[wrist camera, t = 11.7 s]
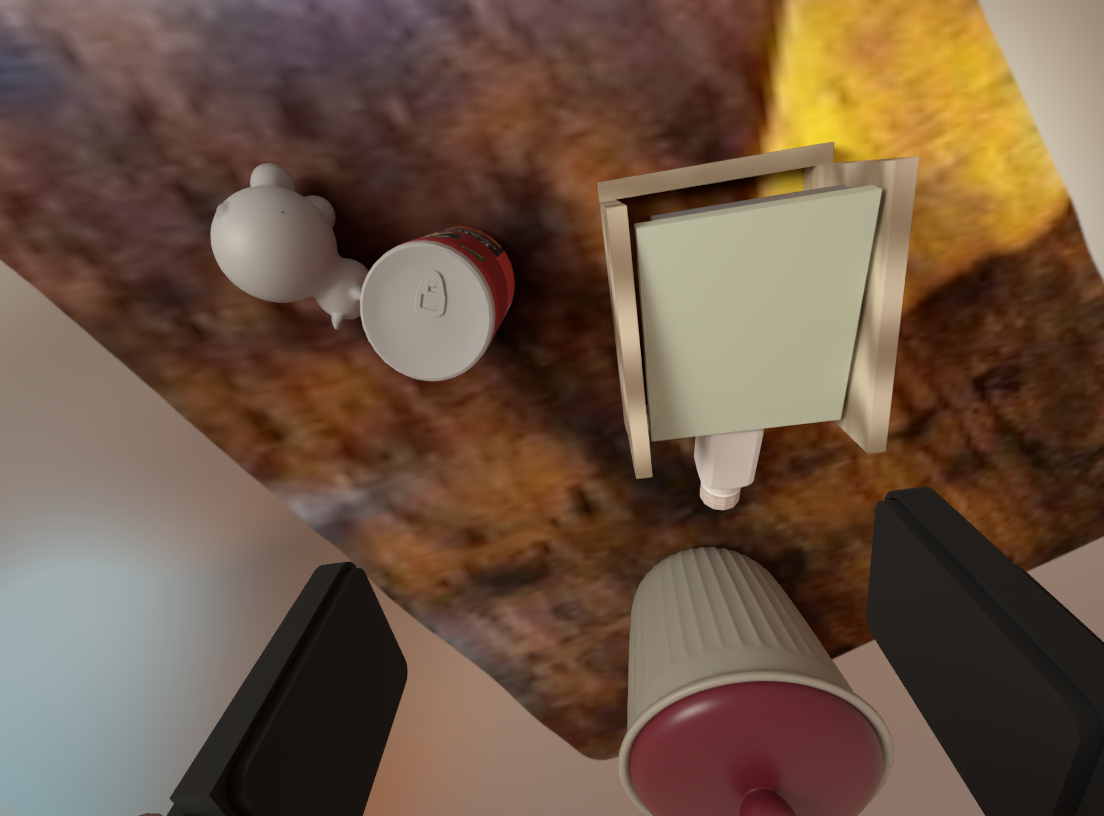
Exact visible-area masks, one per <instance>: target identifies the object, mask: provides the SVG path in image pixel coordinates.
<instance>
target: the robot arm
mask: <svg viewBox="0 0 1104 816" xmlns="http://www.w3.org/2000/svg"><path fill="white" fill-rule="evenodd" d="M866 613H867V622H868V625H869V628H870V631H871V633H872V635H873V637H874V639H875V640H876V642H877V643H878V645H879V647H880V648H881V650H882V651H883V653H884V654H885V656H886V658H887V659H888V661H889V663H890V664H891V666H892V667H893V669H894V670H895V672H896V674H897V675H898V677H899V679H900V680H901V682H902V683H903V685H904V686H905V688H906V689H907V691H908V693H909V695H910V696H911V698H912V699H913V701H914V702H915V704H916V706H917V707H918V709H919V710H920V712H921V714H922V715H923V717H924V718H925V720H926V721H927V723H928V725H929V726H930V728H931V730H932V731H933V733H934V734H935V736H936V737H937V739H938V741H939V742H940V744H941V746H942V747H943V749H944V750H945V752H946V754H947V755H948V757H949V758H950V760H951V762H952V763H953V765H954V766H955V768H956V770H957V771H958V773H959V774H960V776H961V778H962V779H963V781H964V782H965V784H966V786H967V787H968V789H969V790H970V792H971V794H972V795H973V797H974V798H975V800H976V801H977V803H978V805H979V806H980V808H981V809H982V811H983V813H984V814H985V816H1104V642H1103V641H1102V640H1101V639H1099V638H1098V637H1097V636H1096V635H1095V634H1094V633H1093V632H1092V631H1091V630H1090V629H1088V628H1087V627H1086V626H1085V625H1084V624H1083V623H1082V622H1081V621H1080V620H1079V619H1077V618H1076V617H1075V616H1074V615H1073V614H1072V613H1071V612H1070V611H1069V610H1068V609H1067V608H1065V607H1064V606H1063V605H1062V604H1061V603H1060V602H1059V601H1058V600H1057V599H1056V598H1054V597H1053V596H1052V595H1051V594H1050V593H1049V592H1048V591H1046V590H1045V588H1043V587H1042V586H1041V585H1040V584H1039V583H1038V582H1037V581H1036V580H1035V579H1034V578H1032V577H1031V576H1030V575H1029V574H1028V573H1027V572H1026V571H1024V570H1023V569H1022V568H1020V567H1019V566H1017V565H1016V564H1014V563H1013V562H1012V561H1011V560H1010V559H1008V558H1007V557H1006V556H1005V555H1004V554H1003V553H1002V552H1001V551H1000V550H999V549H998V548H996V547H995V546H994V545H993V544H992V543H991V542H990V541H989V540H988V539H987V538H986V537H984V536H983V535H982V534H981V533H980V532H979V531H978V530H977V529H976V528H975V527H974V526H972V525H971V524H970V523H969V522H968V521H967V520H966V519H965V518H964V517H963V516H962V515H961V514H959V513H958V512H957V511H956V510H955V509H954V508H953V507H952V506H951V505H950V504H949V503H947V502H946V501H945V500H944V499H943V498H942V497H941V496H940V495H939V494H938V493H937V492H935V491H934V490H933V489H931V488H929V487H918V488H911V489H903V490H895V491H890V492H888V493H887V495H886V497H885V501H880V502H878V503H877V505H876V509H875V520H874V532H873V543H872V555H871V566H870V578H869V589H868V601H867V612H866ZM406 680H407V663H406V660H405V658H404V656H403V654H402V651H401V649H400V647H399V645H398V643H397V641H396V639H395V637H394V634H393V632H392V630H391V628H390V626H389V624H388V621H387V619H386V617H385V615H384V613H383V610H382V608H381V606H380V604H379V602H378V600H377V598H376V595H375V593H374V591H373V589H372V587H371V584H370V582H369V580H368V578H367V576H366V574H365V572H364V570H363V569H361V568H357V567H356V566H355V564H353V563H352V562H342V563H334V564H327V565H321V566H319V567H318V568H317V569H316V570H315V571H314V573H313V574H312V576H311V578H310V579H309V581H308V582H307V584H306V585H305V587H304V589H303V590H302V592H301V593H300V595H299V596H298V598H297V600H296V601H295V603H294V604H293V606H292V607H291V609H290V610H289V612H288V614H287V615H286V617H285V619H284V620H283V621H282V623H281V625H280V626H279V628H278V629H277V631H276V632H275V634H274V635H273V637H272V639H271V640H270V642H269V643H268V645H267V646H266V648H265V650H264V651H263V653H262V654H261V656H260V658H259V659H258V661H257V662H256V664H255V665H254V667H253V668H252V670H251V672H250V673H249V675H248V676H247V678H246V679H245V681H244V683H243V684H242V686H241V687H240V689H239V690H238V692H237V694H236V695H235V697H234V698H233V700H232V702H231V703H230V705H229V706H228V708H227V709H226V711H225V712H224V714H223V716H222V717H221V719H220V720H219V722H218V723H217V725H216V726H215V728H214V730H213V731H212V733H211V734H210V736H209V738H208V739H207V741H206V742H205V744H204V745H203V747H202V748H201V750H200V752H199V753H198V755H197V756H196V758H195V759H194V761H193V762H192V764H191V766H190V767H189V769H188V770H187V772H186V773H185V775H184V777H183V778H182V780H181V781H180V783H179V785H178V786H177V788H176V789H175V791H174V792H173V794H172V795H171V797H170V799H171V800H172V802H174V805H173V806H172V808H171V810H170V811H169V813H168V814H167V816H363V813H364V810H365V807H366V804H367V801H368V797H369V795H370V792H371V789H372V786H373V782H374V779H375V776H376V773H377V770H378V767H379V764H380V761H381V758H382V755H383V752H384V748H385V745H386V743H387V739H388V736H389V733H390V730H391V727H392V724H393V721H394V718H395V715H396V712H397V709H398V706H399V703H400V700H401V696H402V693H403V690H404V687H405V684H406ZM139 816H162V815H161V814H156V813H146V814H142V815H139Z"/></svg>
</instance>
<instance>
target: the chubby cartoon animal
mask: <svg viewBox="0 0 1104 816" xmlns="http://www.w3.org/2000/svg"><path fill="white" fill-rule="evenodd" d="M250 183H251V187H249V188H246V189H243V190H240V191H238V192H236V193H235V194H233V195H231V196H230V197H229V198H228V199H227V200H226V201H224V203H222V204H220V205H219V206H218V207H217V212H216V214H215V217H214V219H213V222H212V227H211V245H212V249H213V253H214V256H215V258H216V261H217V263H218V264H219V266H220V268H221V269H222V271H223V272H224V273H225V275H226V276H227V277H228V278H229V279H230V280H231V281H232V282H233V283H234V284H235V285H236V286H238V287H239V288H240V289H242V290H243V291H245V292H247V293H248V294H250V295H252V296H255V297H257V298H260V299H263V300H267V301H272V302H294V301H298V300H302V299H305V298H308V297H314V298H315V299H316V301H317V302H318V304H319V305H320V307H321V308H322V309H323V310H324V311H326V312H327V313H328V314H330V315H331V316H332V323H333V326H334V328H335V329H336V330H337V329H339V328H340V327H341V325H342V322H343V319H354V318H357V317H358V316H360V297H361V291H362V286H363V284H364V281H365V279H366V276H367V274H368V272H369V271H368V270H367V269H366V267H365V266H363V265H362V264H361V263H359V262H357V261H355V260H352V259H347V258H342V257H340V256H339V254H338V252H337V243H336V238H335V235H334V232H333V230H332V228H333V226H334V224H335V212H334V209H333V207H332V205H331V204H330V203H329V202H328V201H327V200H326V199H324V198H322V197H320V196H315V195H310V196H306V197H303V196H301V195H300V194H298V193H296V192H294V191H295V185H294V181H293V179H292V177H291V175H290V174H289V172H288V171H287V170H286V169H285V168H283V167H281V166H279V165H276V164H272V163H265V164H261V165H259V166H257V167H256V168H255V169H254V171H253V173H252V176H251V181H250Z"/></svg>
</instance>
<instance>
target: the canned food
mask: <svg viewBox="0 0 1104 816" xmlns="http://www.w3.org/2000/svg"><path fill="white" fill-rule="evenodd" d="M514 287H515V282H514V273H513V269H512V266H511V263H510V260H509V258H508V256H507V254H506V253H505V251H504V250H503V249H502V247H501V246H500V245H499V244H498V243H497V242H496V241H495V240H494V239H493V238H492V237H491V236H489V235H487V234H486V233H484V232H482V231H480V230H477V229H474V228H470V227H462V226H460V227H450V228H447V229H444V230H441V231H438V232H435V233H432V234H429V235H426V236H423V237H420V238H417V239H414V240H411V241H408V242H405V243H403V244H401V245H398V246H396V247H395V248H393V249H391V250H390V251H388V252H386V253H385V254H384V255H383V256H382V257H381V258H380V259H379V260H378V261H377V262H376V263H375V264H374V265H373V266H372V268H371V269H370V271H369V272H368V274H367V276H366V279H365V281H364V284H363V286H362V291H361V297H360V315H361V319H362V324H363V328H364V330H365V333H366V335H367V338H368V340H369V342H370V343H371V345H372V346H373V348H374V350H375V351H376V352H377V353H378V355H379V356H380V357H381V358H382V359H383V360H384V361H385V362H386V363H387V364H389V365H390V366H391V367H392V368H394V369H395V370H397V371H399V372H401V373H402V374H404V375H406V376H409V377H412V378H415V379H418V380H426V381H440V380H446V379H450V378H453V377H456V376H458V375H460V374H462V373H464V372H465V371H467V370H468V369H469V368H470V367H472V366H473V365H474V364H475V363H476V362H477V361H478V360H479V359H480V358H481V356H482V355H483V354H484V353H485V351H486V349H487V348H488V347H489V345H490V343H491V341H492V339H493V337H494V336H495V334H496V332H497V330H498V328H499V326H500V324H501V323H502V321H503V319H504V317H505V315H506V313H507V311H508V309H509V307H510V305H511V303H512V299H513V296H514Z"/></svg>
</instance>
